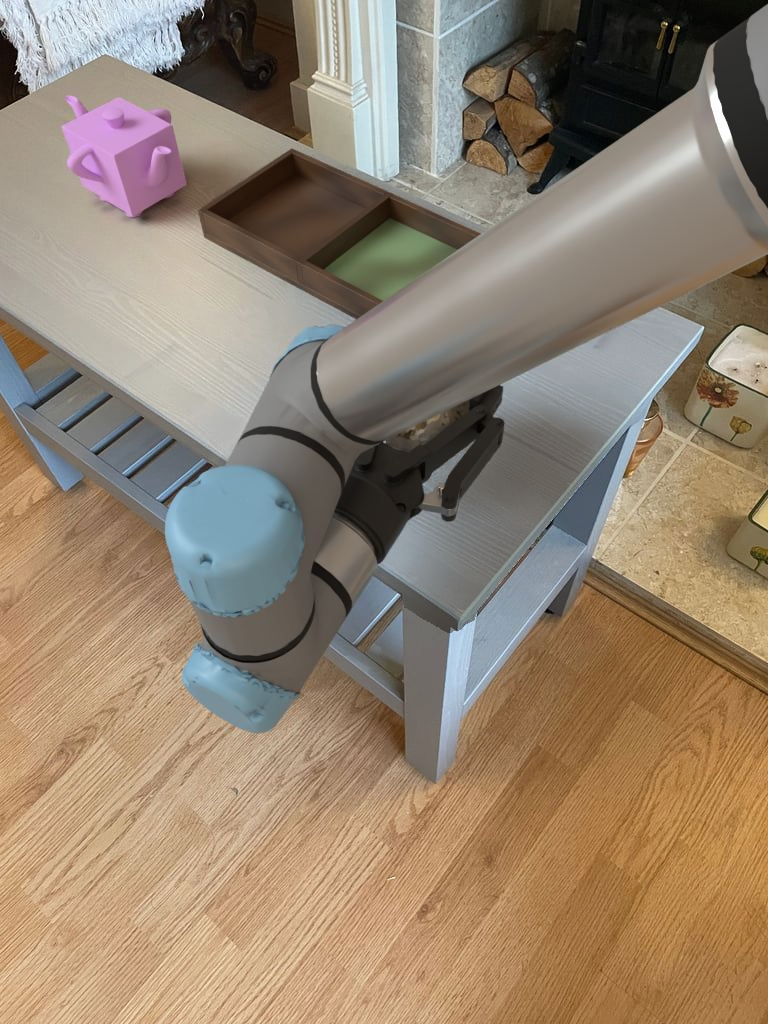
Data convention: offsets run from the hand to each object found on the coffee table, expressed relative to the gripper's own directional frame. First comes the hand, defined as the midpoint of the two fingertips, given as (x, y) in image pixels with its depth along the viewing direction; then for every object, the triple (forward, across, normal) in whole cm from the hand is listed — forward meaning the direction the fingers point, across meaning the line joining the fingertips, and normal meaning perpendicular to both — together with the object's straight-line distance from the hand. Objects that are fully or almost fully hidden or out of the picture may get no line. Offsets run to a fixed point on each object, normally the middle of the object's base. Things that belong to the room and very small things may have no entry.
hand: (467, 350), depth 73 cm
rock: (-5, 0, -6) cm, 8 cm away
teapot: (+16, -54, -10) cm, 57 cm away
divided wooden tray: (+18, -24, -10) cm, 31 cm away
